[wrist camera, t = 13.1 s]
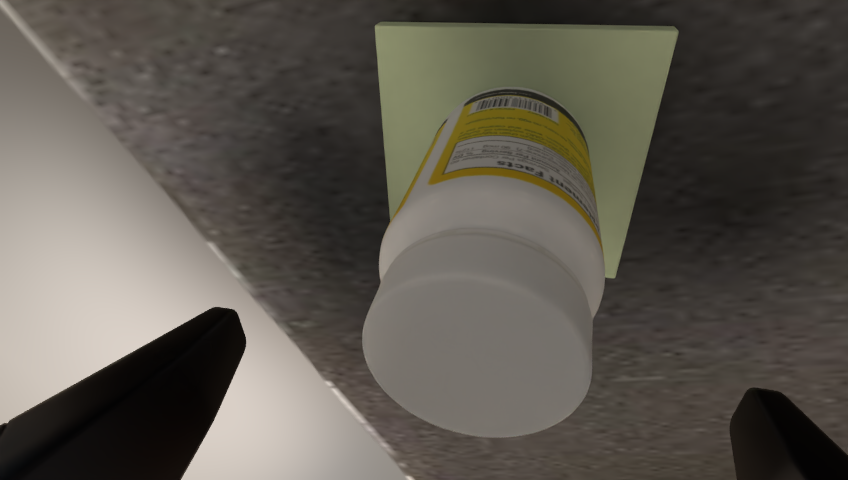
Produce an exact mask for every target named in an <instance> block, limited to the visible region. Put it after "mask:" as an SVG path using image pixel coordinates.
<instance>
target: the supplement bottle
mask: <svg viewBox="0 0 848 480" xmlns="http://www.w3.org/2000/svg"><path fill="white" fill-rule="evenodd" d="M379 274H380V280H381V283H380V286H379V289H378V291H377V293H376V296H375V298H374V300H373V302H372V305H371V307H370V309H369V312H368V314H367V317H366V320H365V323H364V327H363V334H362V345H363V352H364V356H365V360H366V362H367V365H368V368H369V370H370V371H371V373H372V375H373V376H374V378H375V379H376V381H377V382H378V384H379V385H380V386H381V388H382V389H383V390H384V391H385V392H386V393H387V394H388V395H389V396H390V397H391V398H392V399H393V400H394V401H396V402H397V403H398V404H399V405H401V406H402V407H403V408H405V409H406V410H407V411H409V412H410V413H412V414H413V415H415V416H417V417H419V418H421V419H423V420H425V421H427V422H429V423H431V424H433V425H436V426H438V427H441V428H444V429H447V430H451V431H454V432H459V433H463V434H467V435H473V436H479V437H498V438H500V437H515V436H521V435H527V434H532V433H536V432H539V431H542V430H544V429H547V428H549V427H551V426H554V425H555V424H557V423H559V422H561V421H562V420H564V419H565V418H567V417H568V416H569V415H570V414H571V413H572V412H573V411H574V410H575V409H576V408H577V407H578V406H579V405H580V404H581V402H582V401H583V399H584V397H585V396H586V394H587V391H588V388H589V386H590V382H591V377H592V333H593V318H594V316H595V314H596V312H597V311H598V308H599V305H600V302H601V299H602V296H603V291H604V284H605V263H604V254H603V247H602V240H601V232H600V225H599V219H598V211H597V204H596V197H595V189H594V183H593V176H592V169H591V162H590V157H589V150H588V145H587V141H586V138H585V135H584V133H583V130H582V128H581V127H580V125H579V123H578V121H577V120H576V119H575V117H574V116H573V115H572V114H571V113H570V112H569V111H568V110H567V109H566V108H565V107H564V106H563V105H562V104H560V103H559V102H558V101H556V100H555V99H553V98H552V97H550V96H548V95H546V94H544V93H541V92H539V91H536V90H532V89H528V88H523V87H499V88H493V89H489V90H486V91H483V92H480V93H478V94H475V95H473V96H471V97H470V98H468V99H466V100H465V101H463V102H462V103H461V104H459V105H458V106H457V107H456V108H455V109H454V110H453V111H452V112H451V113H450V114H449V115H448V116H447V118H446V119H445V120H444V122H443V123H442V125H441V126H440V128H439V129H438V131H437V133H436V135H435V137H434V139H433V141H432V143H431V145H430V147H429V149H428V151H427V153H426V155H425V157H424V159H423V161H422V163H421V165H420V167H419V169H418V171H417V173H416V175H415V177H414V179H413V181H412V182H411V184H410V186H409V188H408V190H407V192H406V194H405V196H404V198H403V200H402V202H401V203H400V205H399V207H398V209H397V211H396V213H395V214H394V216H393V218H392V220H391V222H390V224H389V226H388V228H387V230H386V232H385V234H384V237H383V240H382V244H381V249H380V257H379Z"/></svg>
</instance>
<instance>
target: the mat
mask: <svg viewBox="0 0 848 480" xmlns="http://www.w3.org/2000/svg"><path fill="white" fill-rule="evenodd" d="M678 33H679V32H678V30H677V29H676V28H675V27H674V26H629V25H565V24H502V23H439V22H380V23H378V24H377V25H375V37H376V49H377V62H378V75H379V87H380V100H381V112H382V125H383V137H384V150H385V162H386V175H387V187H388V200H389V213H390V222H391V220H392V218H393V216H394V214H395V213H396V211H397V209H398V207H399V205H400V203H401V202H402V200H403V198H404V196H405V194H406V192H407V190H408V188H409V186H410V184H411V182H412V181H413V179H414V177H415V175H416V173H417V171H418V169H419V167H420V165H421V163H422V161H423V159H424V157H425V155H426V153H427V151H428V149H429V147H430V145H431V143H432V141H433V139H434V137H435V135H436V133H437V131H438V129H439V128H440V126H441V125H442V123H443V122H444V120H445V119H446V118H447V116H448V115H449V114H450V113H451V112H452V111H453V110H454V109H455V108H456V107H457V106H458V105H459V104H461V103H462V102H463V101H465V100H466V99H468V98H470V97H471V96H473V95H475V94H478V93H480V92H483V91H486V90H489V89H493V88H499V87H523V88H528V89H532V90H536V91H539V92H541V93H544V94H546V95H548V96H550V97H552V98H553V99H555V100H556V101H558V102H559V103H560V104H562V105H563V106H564V107H565V108H566V109H567V110H568V111H569V112H570V113H571V114H572V115H573V116H574V117H575V119H576V120H577V121H578V123H579V125H580V127H581V128H582V130H583V133H584V135H585V138H586V141H587V145H588V150H589V157H590V162H591V169H592V176H593V183H594V189H595V197H596V204H597V211H598V219H599V225H600V232H601V240H602V247H603V254H604V263H605V278H615V277H616V273H617V269H618V266H619V262H620V258H621V254H622V250H623V246H624V242H625V238H626V235H627V231H628V227H629V223H630V219H631V215H632V211H633V207H634V203H635V200H636V196H637V192H638V188H639V184H640V180H641V176H642V172H643V169H644V165H645V161H646V157H647V153H648V149H649V145H650V141H651V138H652V134H653V130H654V126H655V122H656V118H657V114H658V110H659V107H660V103H661V99H662V95H663V91H664V87H665V83H666V79H667V76H668V72H669V68H670V64H671V60H672V56H673V52H674V48H675V45H676V41H677V37H678Z"/></svg>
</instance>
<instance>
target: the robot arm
mask: <svg viewBox="0 0 848 480" xmlns="http://www.w3.org/2000/svg"><path fill="white" fill-rule="evenodd" d="M245 347H246V337H245V334H244V331H243V328H242V325H241V323H240V319H239V316H238V314H237V312H236V311H235V310H233V309H228V308H221V307H214V308H211V309H209V310H207V311H205V312H204V313H202V314H200V315H198V316H196V317H195V318H193V319H191V320H189V321H188V322H186V323H184V324H182V325H181V326H179V327H177V328H175V329H173V330H172V331H169V332H168V333H166V334H164V335H162V336H161V337H159V338H157V339H155V340H153V341H152V342H150V343H148V344H146V345H144V346H142V347H141V348H139V349H137V350H135V351H133V352H132V353H130V354H128V355H126V356H125V357H123V358H121V359H119V360H117V361H116V362H114V363H112V364H110V365H108V366H107V367H105V368H103V369H101V370H99V371H98V372H96V373H94V374H92V375H90V376H89V377H87V378H85V379H83V380H81V381H80V382H78V383H76V384H74V385H72V386H71V387H69V388H67V389H65V390H63V391H61V392H60V393H58V394H56V395H54V396H52V397H51V398H49V399H47V400H45V401H43V402H42V403H40V404H38V405H36V406H35V407H33V408H31V409H29V410H27V411H25V412H24V413H22V414H20V415H18V416H16V417H15V418H13V419H11V420H10V421H9V422H8V423H4V424H2V425H0V480H181V478H182V477H183V475H184V473H185V471H186V469H187V468H188V466H189V464H190V462H191V460H192V459H193V457H194V455H195V454H196V452H197V450H198V448H199V446H200V445H201V443H202V441H203V439H204V438H205V436H206V434H207V432H208V430H209V428H210V427H211V425H212V423H213V421H214V419H215V417H216V414H217V412H218V410H219V408H220V406H221V404H222V401H223V399H224V397H225V394H226V392H227V390H228V388H229V385H230V383H231V381H232V379H233V376H234V374H235V372H236V369H237V367H238V365H239V363H240V360H241V358H242V356H243V353H244V351H245ZM730 436H731V443H732V450H733V456H734V463H735V470H736V476H737V480H848V455H847V454H846V453H845V452H844V451H843V450H842V449H841V448H840V447H839V446H838V445H836V444H835V443H834V442H833V441H832V440H831V439H830V438H829V437H828V436H827V435H826V434H825V433H824V432H823V431H822V430H821V429H820V428H819V427H818V426H817V425H816V424H814V423H813V422H812V421H811V420H810V419H809V418H808V417H807V416H806V415H805V414H804V413H803V412H802V411H801V410H800V409H799V408H798V407H797V406H796V405H795V404H794V403H792V402H791V401H790V400H789V399H788V398H787V397H786V396H785V395H784V394H782V393H781V392H778V391H774V390H768V389H761V388H750V389H748V390H747V391H746V393H745V394H744V396H743V398H742V400H741V402H740V403H739V405H738V407H737V409H736V411H735V412H734V414H733V416H732V418H731V422H730Z"/></svg>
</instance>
